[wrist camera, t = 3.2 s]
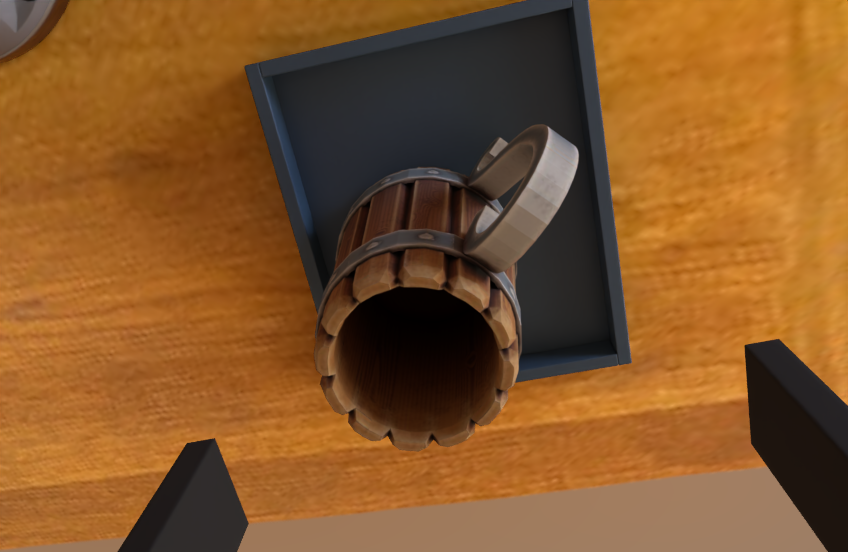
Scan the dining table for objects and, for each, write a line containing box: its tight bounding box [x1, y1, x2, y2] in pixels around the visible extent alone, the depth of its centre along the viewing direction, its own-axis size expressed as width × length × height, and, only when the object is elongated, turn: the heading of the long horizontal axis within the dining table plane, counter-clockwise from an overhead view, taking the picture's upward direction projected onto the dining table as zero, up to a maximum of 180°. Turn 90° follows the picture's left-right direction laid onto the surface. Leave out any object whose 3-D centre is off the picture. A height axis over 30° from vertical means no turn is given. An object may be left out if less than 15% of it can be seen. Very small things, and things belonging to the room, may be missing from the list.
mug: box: [314, 124, 579, 451], centre depth 33 cm, size 16×11×15 cm
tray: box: [245, 0, 632, 383], centre depth 39 cm, size 18×22×2 cm
